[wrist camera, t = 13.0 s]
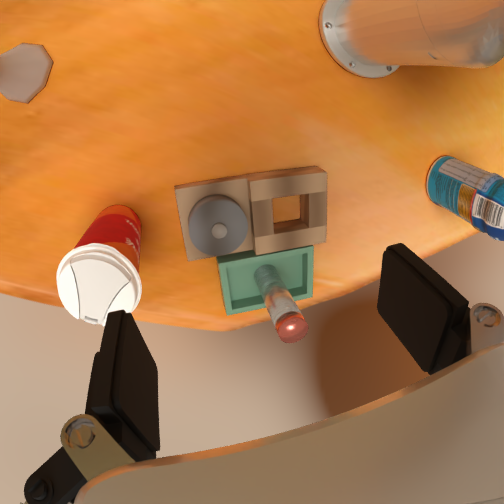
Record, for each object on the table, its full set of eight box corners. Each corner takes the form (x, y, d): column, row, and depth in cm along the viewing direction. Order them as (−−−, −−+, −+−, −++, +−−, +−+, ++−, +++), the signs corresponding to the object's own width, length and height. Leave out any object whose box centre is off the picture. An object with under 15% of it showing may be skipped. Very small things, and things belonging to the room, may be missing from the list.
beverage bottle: (444, 143, 40) (550, 186, 23) (464, 176, 44) (557, 225, 26) (415, 183, 42) (520, 242, 25) (438, 213, 46) (528, 274, 28)
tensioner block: (316, 166, 37) (332, 175, 34) (316, 232, 42) (331, 247, 38) (174, 186, 35) (174, 198, 31) (187, 255, 39) (189, 274, 35)
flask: (64, 58, 25) (26, 48, 16) (29, 113, 26) (-15, 123, 18) (23, 33, 21) (-20, 20, 13) (-9, 87, 23) (-57, 91, 14)
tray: (306, 237, 42) (313, 246, 40) (305, 287, 46) (312, 297, 44) (215, 253, 40) (218, 263, 38) (223, 304, 44) (226, 315, 42)
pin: (276, 262, 42) (308, 317, 32) (277, 282, 43) (307, 338, 33) (252, 266, 41) (278, 324, 31) (254, 287, 43) (279, 346, 33)
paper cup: (140, 262, 38) (130, 339, 26) (83, 245, 35) (49, 317, 23) (158, 205, 35) (151, 267, 23) (96, 186, 32) (58, 238, 20)
